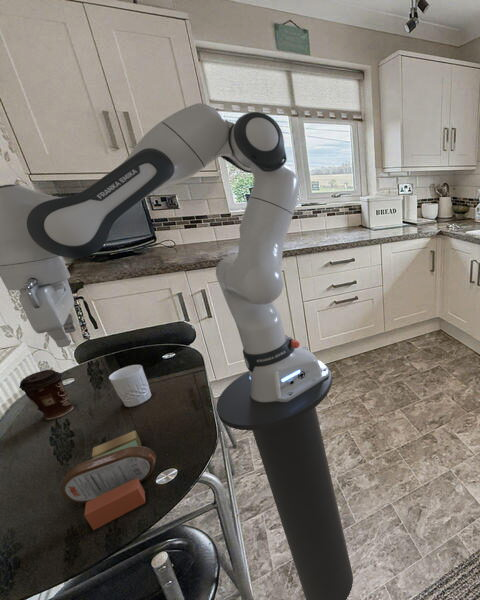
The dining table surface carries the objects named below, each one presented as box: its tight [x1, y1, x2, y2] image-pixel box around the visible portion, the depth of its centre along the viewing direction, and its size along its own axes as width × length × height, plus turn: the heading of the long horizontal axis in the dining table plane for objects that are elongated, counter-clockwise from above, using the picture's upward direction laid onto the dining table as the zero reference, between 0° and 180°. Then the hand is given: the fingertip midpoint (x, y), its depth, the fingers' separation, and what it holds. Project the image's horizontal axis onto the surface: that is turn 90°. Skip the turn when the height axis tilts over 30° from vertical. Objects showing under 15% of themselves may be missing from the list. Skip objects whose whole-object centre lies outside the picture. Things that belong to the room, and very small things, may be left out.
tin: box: [60, 445, 157, 503], centre depth 68 cm, size 15×3×8 cm, turn 119°
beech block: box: [91, 430, 142, 459], centre depth 77 cm, size 8×4×4 cm, turn 129°
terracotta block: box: [83, 478, 146, 531], centre depth 64 cm, size 8×4×4 cm, turn 129°
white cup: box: [108, 364, 152, 408], centre depth 97 cm, size 8×8×10 cm
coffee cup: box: [18, 369, 75, 420], centre depth 94 cm, size 9×8×13 cm
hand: (68, 338), depth 68 cm, fingers open, 8 cm apart
